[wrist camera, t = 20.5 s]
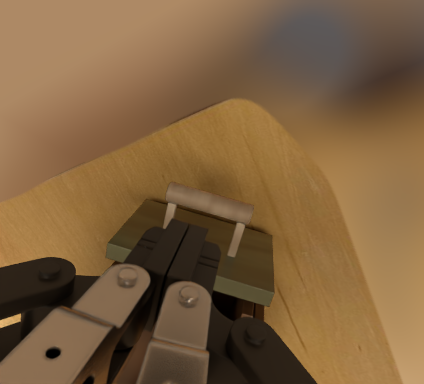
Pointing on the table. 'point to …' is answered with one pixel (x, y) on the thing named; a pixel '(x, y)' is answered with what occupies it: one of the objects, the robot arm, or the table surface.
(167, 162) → the table surface
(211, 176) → the table surface
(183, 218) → the drawer
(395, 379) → the table surface
